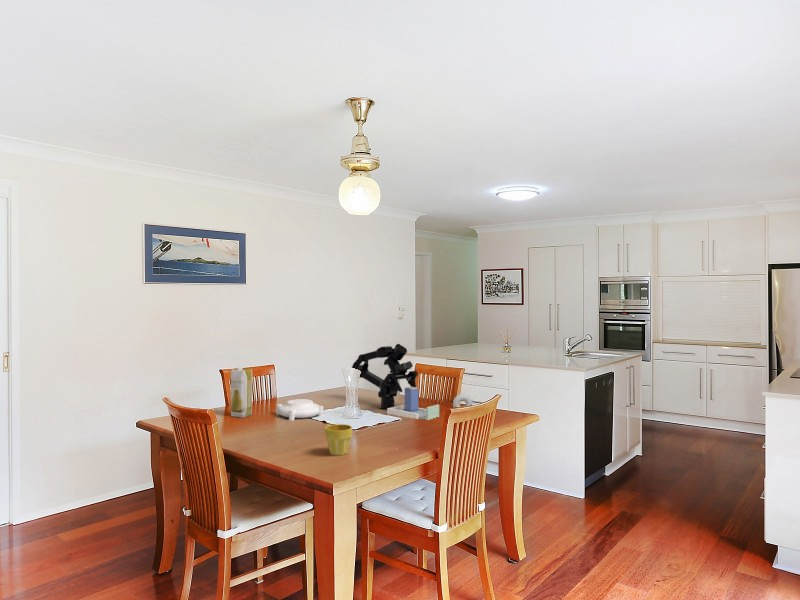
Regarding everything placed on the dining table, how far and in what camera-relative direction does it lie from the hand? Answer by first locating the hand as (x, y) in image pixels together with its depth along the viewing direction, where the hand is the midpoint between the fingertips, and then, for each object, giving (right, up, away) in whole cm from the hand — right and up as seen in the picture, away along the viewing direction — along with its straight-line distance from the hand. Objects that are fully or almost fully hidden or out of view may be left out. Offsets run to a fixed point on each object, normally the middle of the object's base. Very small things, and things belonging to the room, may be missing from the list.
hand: (408, 390), depth 280 cm
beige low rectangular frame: (+1, -12, -1) cm, 12 cm away
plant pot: (-28, -13, -68) cm, 75 cm away
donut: (+27, -12, +2) cm, 30 cm away
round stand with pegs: (-54, -12, -4) cm, 55 cm away
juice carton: (-82, -11, -7) cm, 83 cm away
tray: (+5, -12, -4) cm, 13 cm away
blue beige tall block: (+1, -11, -1) cm, 11 cm away
